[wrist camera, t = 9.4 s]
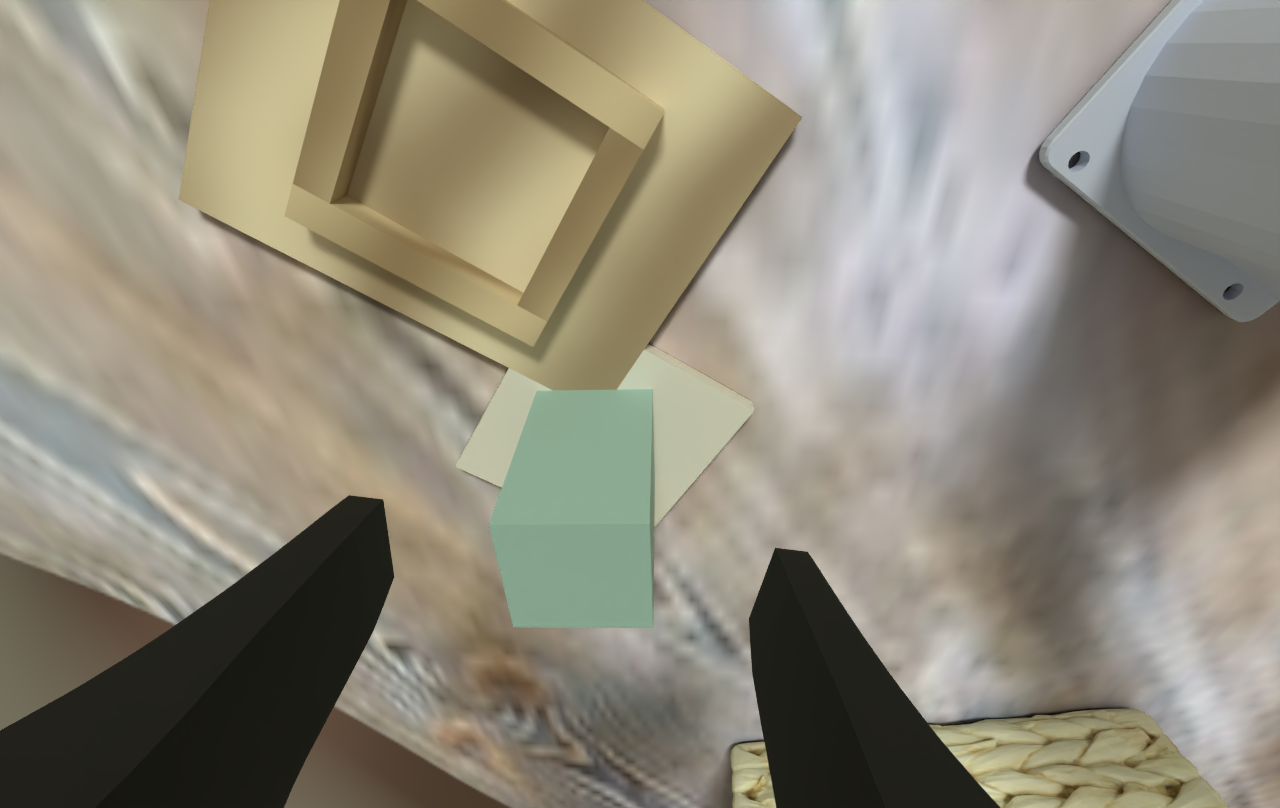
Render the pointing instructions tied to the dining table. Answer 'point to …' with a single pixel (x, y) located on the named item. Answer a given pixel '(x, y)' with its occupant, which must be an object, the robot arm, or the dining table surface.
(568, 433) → the block
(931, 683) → the dining table surface
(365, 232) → the pocket board
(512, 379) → the coaster
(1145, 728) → the storage basket
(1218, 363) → the dining table surface
